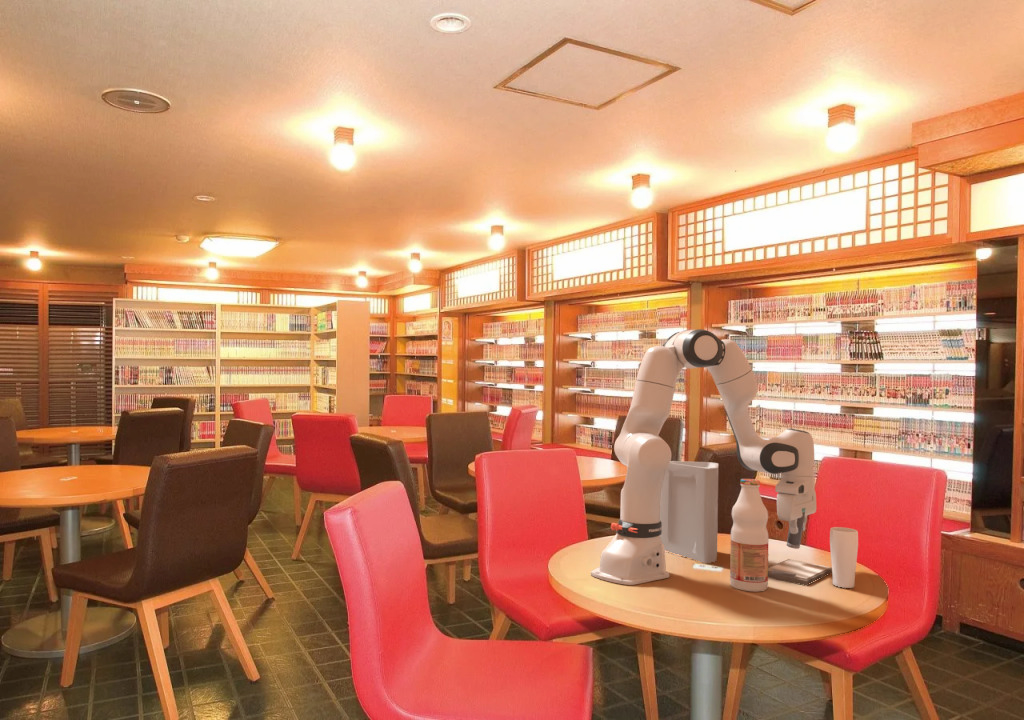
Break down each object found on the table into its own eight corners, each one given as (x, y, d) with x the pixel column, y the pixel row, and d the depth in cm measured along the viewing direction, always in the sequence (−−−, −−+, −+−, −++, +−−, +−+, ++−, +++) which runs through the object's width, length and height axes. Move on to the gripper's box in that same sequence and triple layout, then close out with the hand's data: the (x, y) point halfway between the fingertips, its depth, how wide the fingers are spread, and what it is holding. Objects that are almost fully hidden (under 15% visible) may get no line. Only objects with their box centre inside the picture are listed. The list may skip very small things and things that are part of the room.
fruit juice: (722, 585, 184) (723, 478, 185) (744, 580, 189) (746, 476, 190) (752, 594, 176) (754, 483, 177) (775, 589, 181) (776, 481, 182)
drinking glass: (855, 584, 187) (856, 528, 188) (859, 591, 181) (859, 533, 181) (828, 581, 190) (828, 526, 190) (830, 588, 183) (831, 530, 184)
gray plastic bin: (738, 557, 213) (739, 466, 214) (705, 563, 205) (707, 468, 206) (690, 544, 229) (691, 459, 230) (658, 550, 221) (660, 461, 222)
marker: (796, 549, 202) (802, 509, 200) (784, 545, 204) (790, 506, 202) (801, 546, 204) (807, 507, 203) (789, 542, 207) (795, 504, 205)
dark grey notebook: (806, 585, 185) (806, 577, 185) (759, 575, 194) (759, 567, 194) (833, 572, 199) (833, 564, 199) (788, 563, 208) (788, 555, 208)
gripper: (801, 480, 213) (800, 525, 213) (772, 486, 198) (772, 535, 198) (822, 482, 209) (822, 528, 208) (794, 489, 194) (794, 539, 194)
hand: (797, 532), depth 203 cm, fingers closed on marker, 4 cm apart
